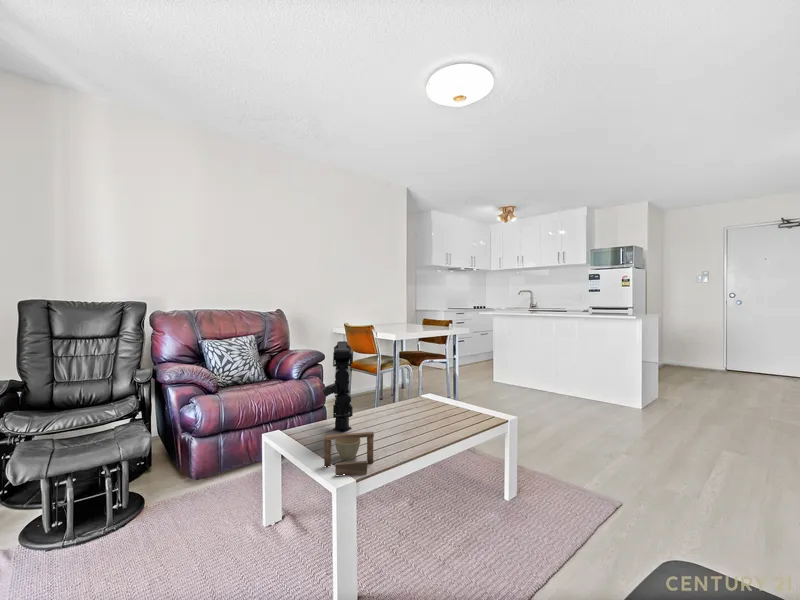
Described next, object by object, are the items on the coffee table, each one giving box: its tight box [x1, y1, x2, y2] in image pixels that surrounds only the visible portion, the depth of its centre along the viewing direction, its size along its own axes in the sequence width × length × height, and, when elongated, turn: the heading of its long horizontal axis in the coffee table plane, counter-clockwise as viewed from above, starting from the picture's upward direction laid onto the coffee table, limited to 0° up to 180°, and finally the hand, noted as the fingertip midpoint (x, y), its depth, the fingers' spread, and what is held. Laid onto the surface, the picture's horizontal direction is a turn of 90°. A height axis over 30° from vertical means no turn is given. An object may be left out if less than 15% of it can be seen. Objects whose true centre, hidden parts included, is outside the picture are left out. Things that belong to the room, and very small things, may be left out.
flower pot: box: [334, 438, 362, 461], centre depth 152 cm, size 10×10×7 cm
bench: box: [323, 431, 375, 476], centre depth 142 cm, size 10×18×11 cm, turn 102°
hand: (342, 413), depth 169 cm, fingers open, 4 cm apart
